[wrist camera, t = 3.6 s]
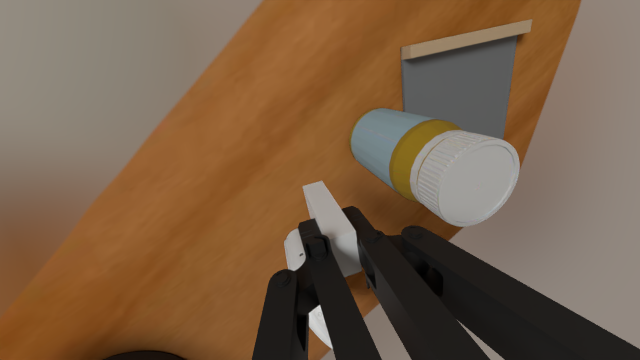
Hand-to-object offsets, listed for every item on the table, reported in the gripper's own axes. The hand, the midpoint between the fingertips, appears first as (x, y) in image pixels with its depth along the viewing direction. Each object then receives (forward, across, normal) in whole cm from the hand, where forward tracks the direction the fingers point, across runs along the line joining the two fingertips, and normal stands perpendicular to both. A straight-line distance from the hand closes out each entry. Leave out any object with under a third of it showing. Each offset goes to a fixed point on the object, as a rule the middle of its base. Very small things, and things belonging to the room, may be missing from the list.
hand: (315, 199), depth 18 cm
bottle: (+11, +10, 0) cm, 15 cm away
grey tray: (+11, +22, 0) cm, 24 cm away
